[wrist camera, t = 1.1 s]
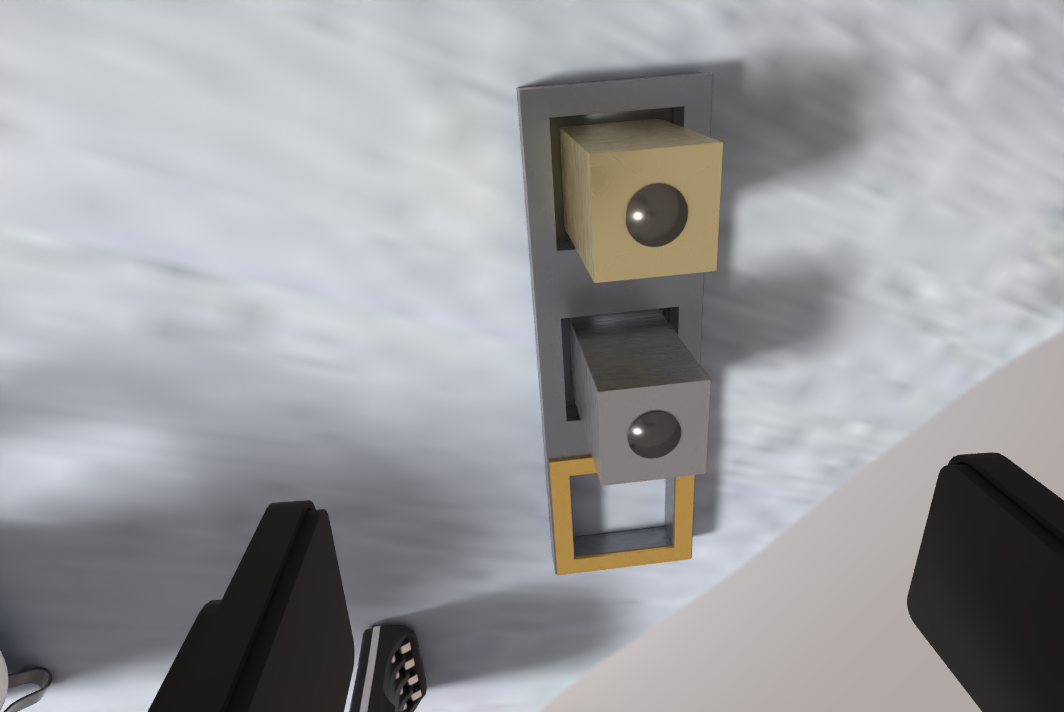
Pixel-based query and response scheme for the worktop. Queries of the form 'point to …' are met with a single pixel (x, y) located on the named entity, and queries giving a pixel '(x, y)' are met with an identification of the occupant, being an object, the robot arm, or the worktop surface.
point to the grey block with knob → (639, 397)
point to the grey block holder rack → (574, 294)
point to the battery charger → (389, 671)
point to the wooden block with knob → (641, 198)
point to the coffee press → (35, 675)
